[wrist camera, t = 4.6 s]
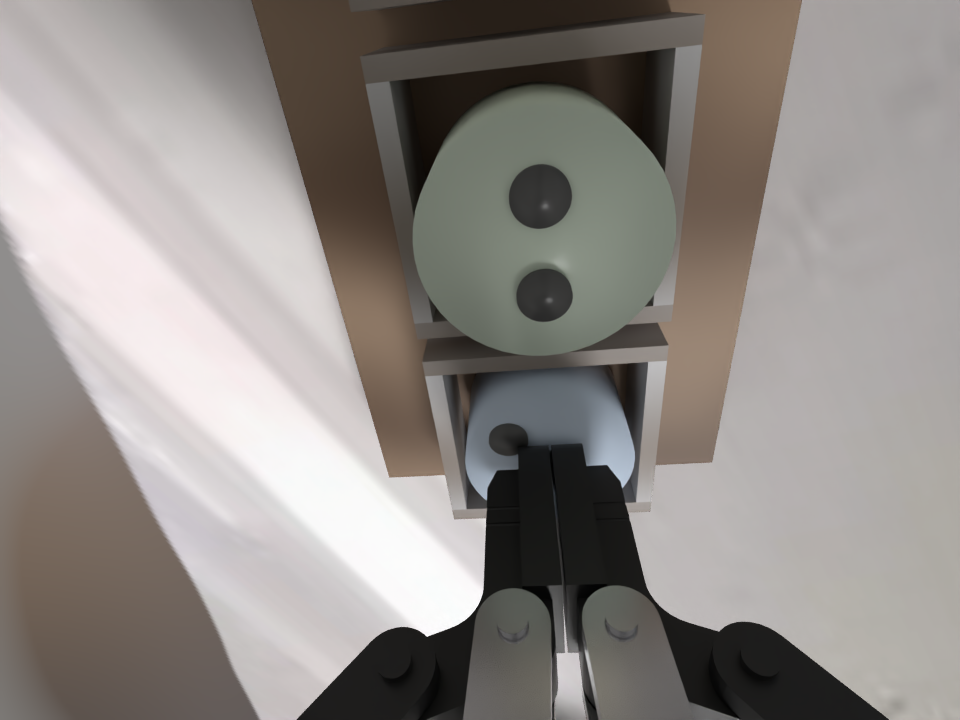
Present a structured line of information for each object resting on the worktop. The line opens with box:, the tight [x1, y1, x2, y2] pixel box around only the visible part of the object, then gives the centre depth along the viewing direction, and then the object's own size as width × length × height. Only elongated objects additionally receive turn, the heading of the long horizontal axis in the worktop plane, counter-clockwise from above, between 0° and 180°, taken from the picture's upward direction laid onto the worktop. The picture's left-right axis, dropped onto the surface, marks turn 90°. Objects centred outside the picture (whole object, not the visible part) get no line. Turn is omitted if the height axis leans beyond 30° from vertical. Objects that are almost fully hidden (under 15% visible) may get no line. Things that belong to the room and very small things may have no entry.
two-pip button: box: [413, 81, 676, 356], centre depth 9 cm, size 4×4×3 cm
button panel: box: [252, 0, 802, 519], centre depth 11 cm, size 18×10×4 cm, turn 6°
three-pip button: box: [465, 365, 635, 500], centre depth 14 cm, size 4×4×3 cm
